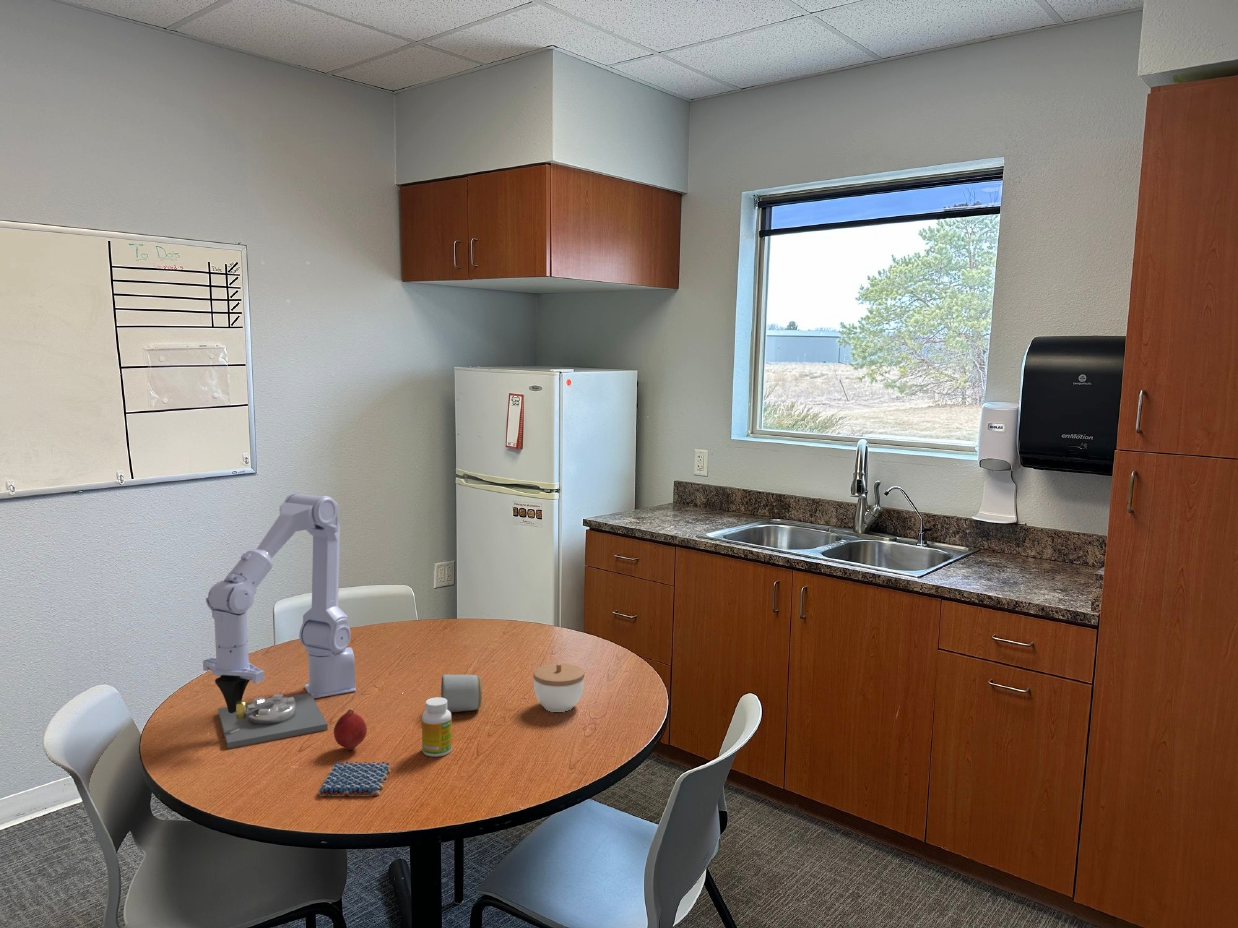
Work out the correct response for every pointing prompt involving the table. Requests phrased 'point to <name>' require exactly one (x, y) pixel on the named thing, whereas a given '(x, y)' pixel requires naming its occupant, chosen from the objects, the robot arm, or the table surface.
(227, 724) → the base plate
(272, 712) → the lathe jaw chuck
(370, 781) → the woven mat
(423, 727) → the supplement bottle
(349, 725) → the onion
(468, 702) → the ceramic mug
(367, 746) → the table surface
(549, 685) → the lidded jar
